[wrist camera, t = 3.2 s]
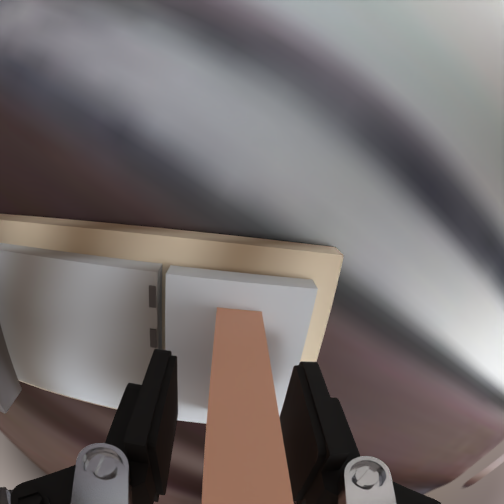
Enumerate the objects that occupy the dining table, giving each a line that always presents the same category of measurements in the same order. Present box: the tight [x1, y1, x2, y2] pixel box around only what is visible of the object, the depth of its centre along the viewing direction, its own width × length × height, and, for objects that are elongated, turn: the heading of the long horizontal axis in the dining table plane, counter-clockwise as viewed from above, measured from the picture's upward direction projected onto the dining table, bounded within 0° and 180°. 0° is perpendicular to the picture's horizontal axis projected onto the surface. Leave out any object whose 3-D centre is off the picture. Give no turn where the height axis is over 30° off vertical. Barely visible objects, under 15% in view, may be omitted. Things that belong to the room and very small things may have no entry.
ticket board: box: [0, 214, 344, 414], centre depth 10 cm, size 20×9×4 cm, turn 83°
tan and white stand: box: [165, 265, 318, 504], centre depth 8 cm, size 5×7×9 cm
